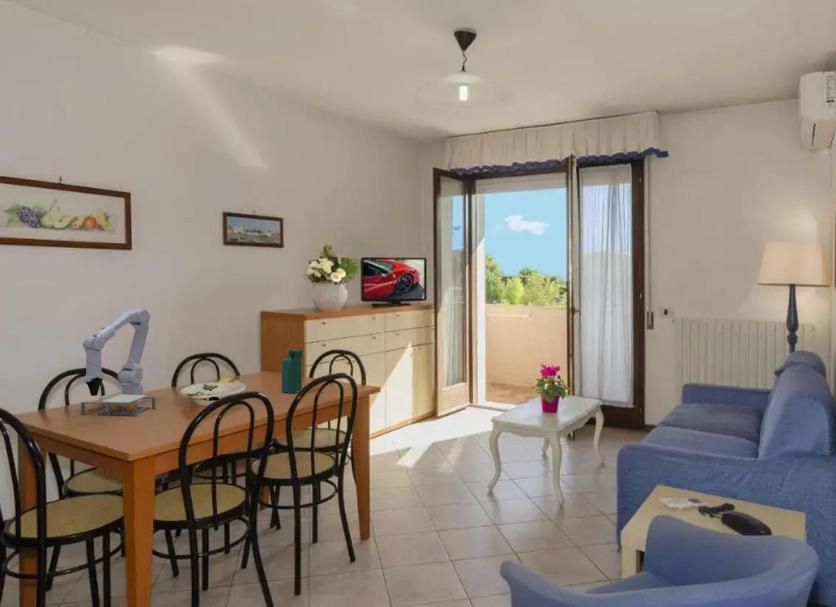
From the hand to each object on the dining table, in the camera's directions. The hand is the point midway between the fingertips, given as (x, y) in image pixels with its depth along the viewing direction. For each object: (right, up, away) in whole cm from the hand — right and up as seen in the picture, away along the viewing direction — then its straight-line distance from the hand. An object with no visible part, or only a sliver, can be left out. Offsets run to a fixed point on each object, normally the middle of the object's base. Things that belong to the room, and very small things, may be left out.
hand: (94, 395), depth 257 cm
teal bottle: (+76, -6, +49) cm, 90 cm away
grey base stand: (+11, -7, -1) cm, 13 cm away
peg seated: (+10, -7, -1) cm, 12 cm away
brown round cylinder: (+17, -7, -1) cm, 18 cm away
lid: (+13, -1, -1) cm, 14 cm away
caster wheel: (+43, -7, +30) cm, 53 cm away
